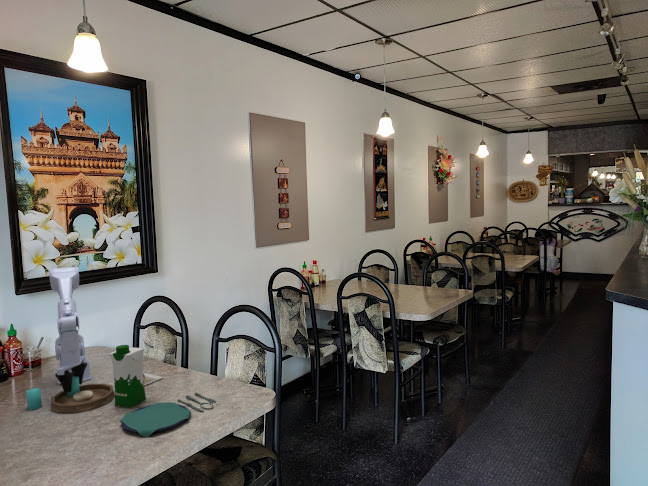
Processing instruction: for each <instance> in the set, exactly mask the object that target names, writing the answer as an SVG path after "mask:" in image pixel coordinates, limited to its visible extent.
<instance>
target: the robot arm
mask: <svg viewBox="0 0 648 486" xmlns="http://www.w3.org/2000/svg"><path fill="white" fill-rule="evenodd" d="M48 272H49V275H48V276H49V283H50V288H51V290H52V291H54V292H56V293H57V294H58V296H59V301H58V303H57V316H58V318H57V332H58V337H57V338H56V339H55V342H54V350H55V351H54V352H55V360H57V361H59V363H58V366H59V367H58V368H57V369H56V373H55V378H57V380H58V381H56V384H58V385H61V387H62V391H64V392H71V390H72V378H73V377H79V386H82V383H83V382H85V381H88V380H91V379H92V377H91V369H90V360H89V358H88V357H87V356H86V353H85V352H86V351H85V341H84V337H83V335H81V334H79V331H80V318H79V315H78V312H77V311H78V310H77V304H76V300H74V299H73V293H74V291H75V290H76V289H79V285H80V273H79V272H80V270H79V267H78V266H73V267H72V266H70V267H59V268H58V267H57V268H50V269H49V270H48ZM77 328H78V329H77Z"/></svg>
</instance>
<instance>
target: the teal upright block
mask: <svg viewBox="0 0 648 486" xmlns="http://www.w3.org/2000/svg"><path fill="white" fill-rule="evenodd" d="M79 386H80V385H79V377H73V378H72V390H71V392H67V397H69V398H71V397H73V395H74V394H76V393H78V392H80V387H79Z"/></svg>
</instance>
